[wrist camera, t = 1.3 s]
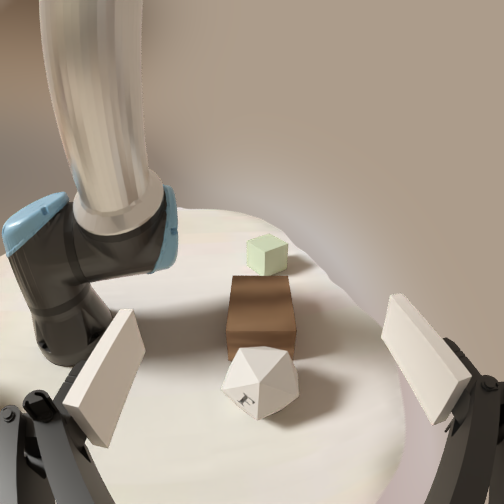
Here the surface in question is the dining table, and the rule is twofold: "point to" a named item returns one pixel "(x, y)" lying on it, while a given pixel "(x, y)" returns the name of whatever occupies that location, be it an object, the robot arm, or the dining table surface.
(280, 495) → the dining table surface
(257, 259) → the green cube
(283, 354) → the die
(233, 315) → the plinth
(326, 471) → the dining table surface
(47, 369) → the dining table surface
